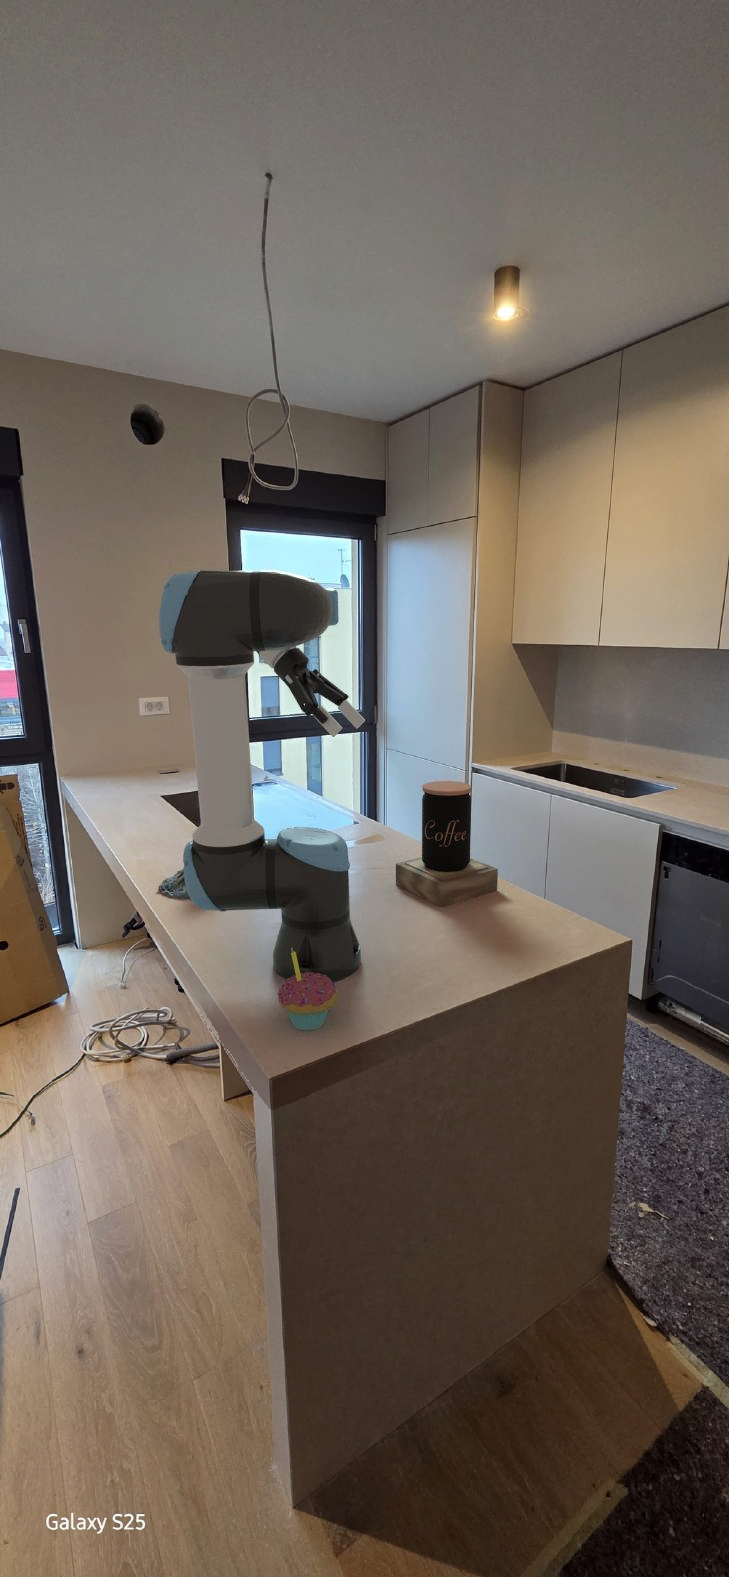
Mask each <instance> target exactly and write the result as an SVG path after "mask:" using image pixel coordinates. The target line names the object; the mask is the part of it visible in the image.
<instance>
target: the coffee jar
mask: <svg viewBox="0 0 729 1577" xmlns="http://www.w3.org/2000/svg"><path fill="white" fill-rule="evenodd" d="M421 788H422V791H423V793H424V794H423V795H422V798H421V857H422V861H423V863H424V864H425V866H426V867H427V868H429V869H431V870H434V871H440V872H455V871H460V870H463V869H465V868H466V867H467V865H468V864H469V862H470V858H471V835H472V834H471V830H472V828H471V826H472V823H471V822H472V796H471V795H470V794H471V792H472V785H470V784H469V783H467V782H463V781H456V780H455V781H454V780H435V781H430V782H427V783H426V782H425V783H424V784H422V787H421Z"/></svg>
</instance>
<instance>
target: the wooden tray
mask: <svg viewBox="0 0 729 1577" xmlns="http://www.w3.org/2000/svg"><path fill="white" fill-rule="evenodd" d="M498 870H499V869H498V868H497V867H495V866H491V865H489V864H486V863H484V862H481V861H478V860H476V859H473V858H471V857H470V862H469V864H468V865H467V867H466V868H465V869H463V870H460V871H455V872H440V871H434V870H431V869H429V868H427V867H426V866H425V864H424V863H423V861H422V856H420V857H417V858H413V859H409V860H405V861H401V862H400V861H399V862H397V863H395V885H396V886H398V887H401V888H403V889H405V890H407V891H409V892H411V893H412V894H415V895H416V896H419V897H420V898H422V899H424V900H426V901H429V902H430V903H433V904H435V905H436V906H439V907H440V908H443V907H447V906H449V905H452V904H453V905H454V904H456V903H460V902H462V901H466V900H469V899H473V898H476V897H480V896H482V895H486V894H489V893H492V892H495V891H498V878H499V876H498V874H499V872H498Z"/></svg>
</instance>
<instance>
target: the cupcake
mask: <svg viewBox="0 0 729 1577" xmlns="http://www.w3.org/2000/svg"><path fill="white" fill-rule="evenodd" d="M291 950H292V953H291V955H292V960H293V964H294V969H295V973H296V975H294V976H292V977H290V978H288V979H286V978H285V980H284V981H283V983H282V984H281V985H280V986H279V988H278V989H279V990H278V992H277V995H278V996H277V998H278V999H277V1000H278V1003H279V1004H280V1007H281V1008H282V1009H284V1010H286V1011H287V1014H288V1017H289V1019H290V1021H291V1025H292V1027H294V1028H295V1029H297V1030H299V1031H305V1032H306V1031H307V1032H308V1031H314V1030H317V1029H319V1028H321V1027H322V1026H323V1025H324V1023H325V1021H326V1019H327V1018H326V1016H327V1014H328V1012H329V1009H331V1008H333V1007H335V1004H336V1001H337V1000H338V996H339V995H338V989H337V987H336V985H335V982H334V981H331V980H330V979H329V978H328V977H326V975H322V974H320V973H312V972H305V973H303V972H302V973H300V970H299V966H298V961H297V956H296V952H293V949H292V948H291Z"/></svg>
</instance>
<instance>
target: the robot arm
mask: <svg viewBox="0 0 729 1577" xmlns="http://www.w3.org/2000/svg"><path fill="white" fill-rule="evenodd" d="M158 618H159V620H158V626H159V627H158V628H159V637H160V639H161V646H162V649H163V650H164V651H165V652H167V653H168V654H172V655H174V656H175V665H176V667H177V668H178V669H179V670H180V671H182V672H183V674H185V675H186V677H187V684H188V691H189V692H188V694H189V704H190V705H189V708H190V715H191V716H190V717H191V726H192V727H191V728H192V739H193V751H194V759H195V762H194V763H195V771H196V772H195V773H196V782H197V794H198V795H197V797H198V805H199V815H200V816H199V817H200V824H199V826H197V828H195V830H194V831H193V832H192V840H191V841H187V843H186V845H185V847H184V850H183V857H182V859H183V860H182V862H183V868H182V869H183V872H184V879H185V884H186V888H187V891H188V894H189V897H190V898H189V899H190V900H191V902H192V904H194V906H195V907H197V908H198V909H200V910H203V911H218V912H221V913H222V912H223V913H224V912H227V911H248V910H253V911H254V910H255V911H256V910H280V912H281V924H280V926H279V927H280V928H279V931H278V934H277V936H276V937H277V938H276V940H275V945H274V949H273V952H272V953H273V954H272V960H273V961H272V962H273V964H272V965H273V968H274V971H275V972H276V973H277V974H278V975H279V976H280V977H282V978H284V979H285V980H286V979H288V978H290V977H292V976H294V975H296V973H295V969H294V964H293V960H292V955H291V953H292V950H291V948H292V949H293V952H296V956H297V961H298V966H299V970H300V973H302V972H303V973H305V972H312V973H320V974H322V975H326V977H328V978H329V979H330V980H331V981H332V982H335V981H338V980H341V979H344V978H346V977H349V976H350V975H351V974H353V973H355V972H356V971H357V970H358V969H359V967H360V965H361V963H362V956H361V955H362V953H361V952H362V950H361V945H360V943H359V940H358V937H357V934H356V932H355V929H354V926H353V923H352V920H351V913H350V912H351V911H350V910H351V909H350V907H351V906H350V883H349V882H350V879H349V870H350V867H351V863H350V860H349V850H348V844H347V842H346V841H345V839H344V838H343V837H342V836H341V835H339V834H337V833H335V832H333V831H330V830H327V829H323V828H319V827H310V826H295V827H288V828H285V829H282V830H281V831H279V832H278V834H277V836H276V838H275V839H274V838H273V839H270V838H269V839H268V838H265V837H266V836H265V828H264V826H263V825H262V824H260V823H259V822H258V821H256V820H255V813H254V812H255V808H254V807H255V806H254V796H253V795H254V794H253V793H254V792H253V780H252V779H253V777H252V763H251V761H252V760H251V751H250V750H251V749H250V747H251V746H250V734H249V718H248V717H249V716H248V702H247V701H248V700H247V687H246V685H247V684H246V674H247V672H248V671H249V670H250V669H251V668H252V666H253V665H254V664H255V656H254V654H255V652H256V653H257V654H258V656H260V658H261V659H262V660H263V663H264V664H265V665H268V666H269V668H271V669H273V672H274V674H276V675H277V676H278V678H279V679H280V680H281V681H282V682H283V683H284V684H285V685H286V686H287V688H288V689H289V691H290V692H291V694H292V696H293V698H294V699H295V701H296V702H297V705H298V706H299V709H300V710H301V711H302V712H303V713H304V714H305V716H307V717H308V718H309V717H310V716H311V715H312V716H313V717H314V719H315V720H316V721H317V722H318V723H319V724H320V725H321V726H322V728H324V729H325V730H326V732H328V733H329V735H330V736H331V737H333V738H334V737H336V736H337V735H338V734H339V732H341V730H342V729H343V727H342V726H341V725H340V723H339V722H338V721H337V720H336V719H335V718H334V716H332V714H330V713H329V711H328V710H326V708H325V707H324V706H323V705H320V704H319V702H318V700H317V697H316V695H315V694H318V695H320V696H321V697H323V698H324V699H326V700H328V701H329V702H331V703H332V704H334V705H336V706H337V709H338V710H339V711H340V713H341V714H342V715H343V716H344V717H345V718H346V719H347V720H348V722H350V723H351V724H352V726H353V727H354V728H355V729H357V730H358V728H360V727H361V725H363V723H365V721H366V719H365V718H364V717H363V716H362V715H361V713H359V711H358V710H357V709H356V708H355V707H354V706H353V705H352V704H351V703H350V702H349V701H348V699H349V697H350V696H349V695H348V694H347V693H345V692H344V691H343V690H342V689H340V688H339V687H338V686H336V685H335V684H334V683H333V682H331V681H330V680H329V679H328V678H326V677H325V676H324V675H323V674H322V673H320V671H319V670H317V669H316V668H314V669H313V670H310V669H309V668H308V664H309V657H308V656H307V655H306V654H305V653H304V652H303V650H301V648H299V647H298V646H300V645H303V644H306V643H308V642H310V641H313V640H315V639H316V638H318V637H320V636H322V635H323V634H324V633H325V632H326V631H327V629H328V627H329V626H337V624H338V623H339V621H340V620H339V592H338V590H337V589H335V588H325V587H323V586H322V585H321V584H320V583H319V582H317V581H315V580H313V579H310V578H308V577H305V576H301V575H297V574H294V573H290V572H285V571H280V570H272V569H271V570H270V569H269V570H266V569H262V570H203V569H199V570H192V571H181V572H180V571H179V572H176V573H173V574H172V575H170V577H169V578H167V580H166V582H165V584H164V587H163V590H162V593H161V598H160V604H159V616H158Z"/></svg>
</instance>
